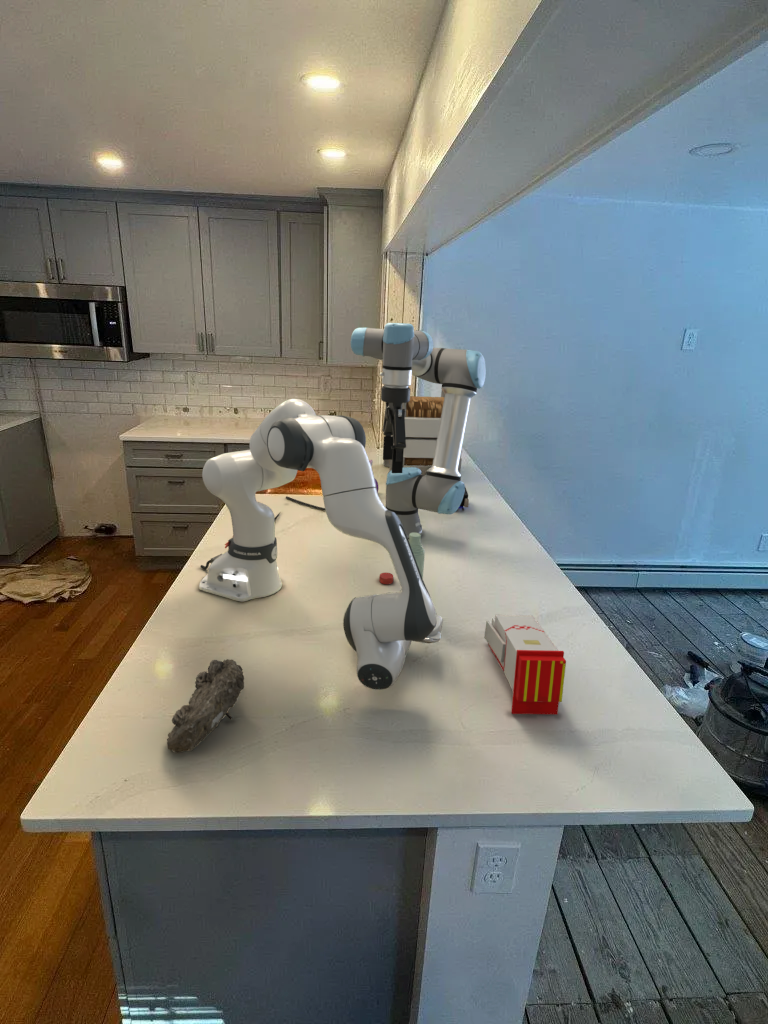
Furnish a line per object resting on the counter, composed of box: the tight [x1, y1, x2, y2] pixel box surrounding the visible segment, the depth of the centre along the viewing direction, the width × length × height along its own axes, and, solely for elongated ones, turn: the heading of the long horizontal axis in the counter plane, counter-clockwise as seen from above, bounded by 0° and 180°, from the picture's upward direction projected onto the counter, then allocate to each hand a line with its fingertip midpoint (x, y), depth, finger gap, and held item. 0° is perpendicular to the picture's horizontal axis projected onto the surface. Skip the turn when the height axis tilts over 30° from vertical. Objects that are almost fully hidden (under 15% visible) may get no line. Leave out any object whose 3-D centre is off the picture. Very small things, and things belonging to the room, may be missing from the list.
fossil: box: [166, 658, 245, 754], centre depth 106 cm, size 22×10×15 cm
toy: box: [484, 614, 567, 716], centre depth 124 cm, size 12×13×30 cm
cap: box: [378, 572, 394, 585], centre depth 165 cm, size 4×4×2 cm
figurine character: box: [458, 486, 470, 512], centre depth 229 cm, size 7×8×15 cm
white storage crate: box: [383, 390, 463, 475], centre depth 268 cm, size 34×33×41 cm
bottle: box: [400, 533, 426, 591], centre depth 146 cm, size 5×5×22 cm
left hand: (404, 606), depth 137 cm, fingers open, 8 cm apart
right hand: (392, 465), depth 153 cm, fingers open, 13 cm apart
